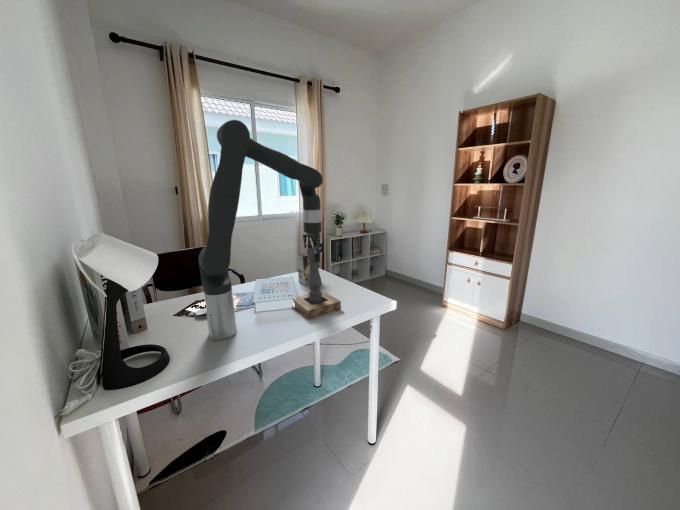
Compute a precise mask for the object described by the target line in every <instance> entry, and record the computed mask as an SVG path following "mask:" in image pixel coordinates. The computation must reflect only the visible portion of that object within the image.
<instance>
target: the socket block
mask: <svg viewBox="0 0 680 510" xmlns="http://www.w3.org/2000/svg"><path fill="white" fill-rule="evenodd" d="M320 290H321V289H320ZM321 292H322V293H321V294H322V302H321V303H318V304H314V305H311V304H309V301H308V295H309V293H306V294H301V295H297V296H296V297H297V298H296V299H293V297H291V298H292V299H293V301H294V303H295V308H294V309H295V310H296V311H297V312H298V313H300V314H301V315H302V316H303V317H305V318H306V319H307V320H309V321H310V320H312V319H315V318H319V317H322V316H325V315H327V314H331V313H334V312H337V311H340V310H342V303H341V302H342V301H341V300H340V299H338V298H336V297H335V296H333V295H331V294H329V293H328V292H326V291H325V290H321Z"/></svg>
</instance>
